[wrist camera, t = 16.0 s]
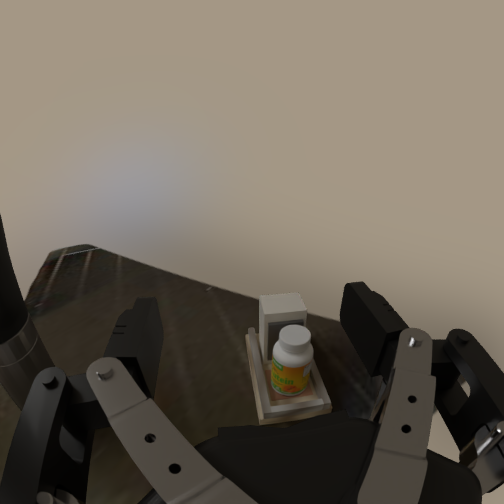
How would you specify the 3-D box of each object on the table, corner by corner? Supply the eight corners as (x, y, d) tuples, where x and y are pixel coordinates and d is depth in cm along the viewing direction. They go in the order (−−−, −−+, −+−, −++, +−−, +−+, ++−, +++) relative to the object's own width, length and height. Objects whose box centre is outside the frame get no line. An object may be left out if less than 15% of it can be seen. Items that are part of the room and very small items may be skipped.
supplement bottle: (263, 386, 38) (265, 338, 34) (282, 365, 42) (287, 316, 38) (296, 402, 35) (304, 354, 31) (313, 378, 39) (323, 329, 35)
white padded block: (264, 367, 42) (265, 317, 38) (259, 345, 47) (259, 295, 43) (301, 362, 43) (308, 312, 38) (294, 341, 47) (298, 292, 43)
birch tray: (259, 425, 34) (259, 413, 32) (245, 341, 50) (245, 328, 49) (330, 413, 35) (334, 401, 33) (300, 335, 51) (301, 322, 50)
